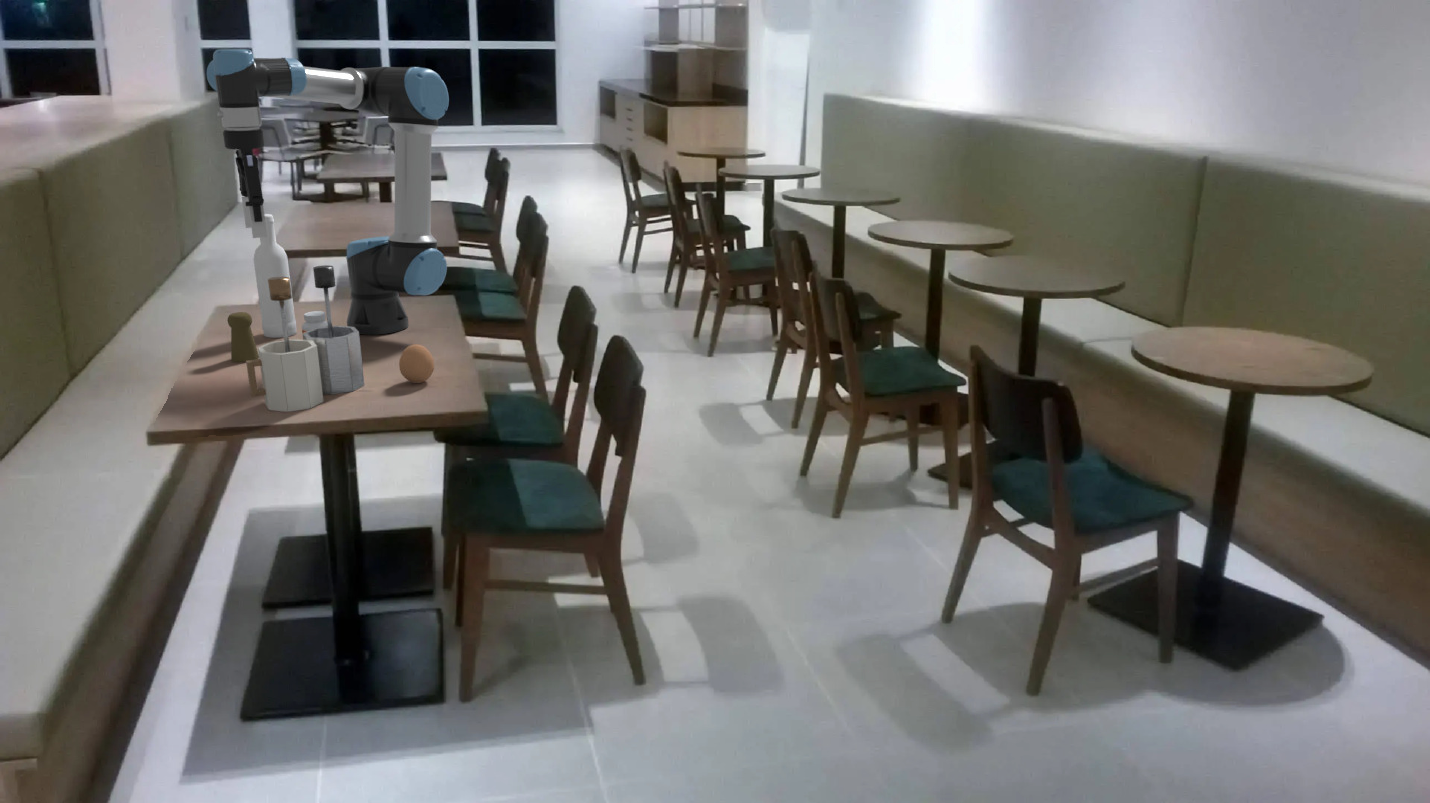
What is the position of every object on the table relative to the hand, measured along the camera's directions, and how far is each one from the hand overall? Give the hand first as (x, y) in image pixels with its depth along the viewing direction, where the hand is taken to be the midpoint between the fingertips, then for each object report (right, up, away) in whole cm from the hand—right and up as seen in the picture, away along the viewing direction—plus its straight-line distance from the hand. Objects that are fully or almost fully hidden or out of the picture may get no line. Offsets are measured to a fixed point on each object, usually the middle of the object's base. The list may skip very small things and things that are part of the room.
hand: (256, 232), depth 231 cm
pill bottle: (+4, -26, +26) cm, 37 cm away
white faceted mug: (+9, -36, -5) cm, 37 cm away
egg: (+32, -32, +9) cm, 46 cm away
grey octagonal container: (+14, -32, +6) cm, 36 cm away
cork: (-13, -26, +26) cm, 39 cm away
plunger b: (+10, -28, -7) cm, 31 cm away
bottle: (-13, -19, +47) cm, 52 cm away
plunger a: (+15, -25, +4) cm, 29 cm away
